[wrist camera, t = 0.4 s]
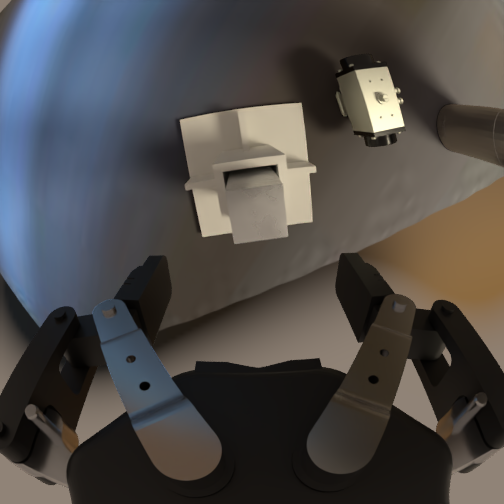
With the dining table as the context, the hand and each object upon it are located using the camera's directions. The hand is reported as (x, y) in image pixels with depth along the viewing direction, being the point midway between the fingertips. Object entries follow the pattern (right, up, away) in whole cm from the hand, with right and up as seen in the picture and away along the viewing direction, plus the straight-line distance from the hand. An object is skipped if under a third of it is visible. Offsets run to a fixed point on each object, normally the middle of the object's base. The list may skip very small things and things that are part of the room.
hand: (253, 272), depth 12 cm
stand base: (0, +13, +26) cm, 29 cm away
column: (0, +12, +24) cm, 27 cm away
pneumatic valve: (+15, +23, +22) cm, 35 cm away
